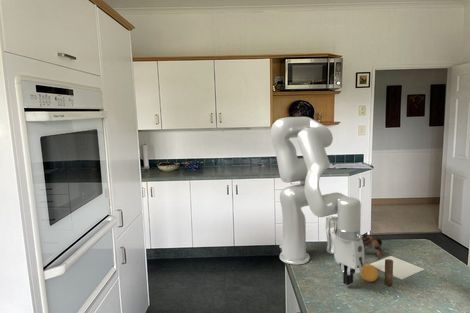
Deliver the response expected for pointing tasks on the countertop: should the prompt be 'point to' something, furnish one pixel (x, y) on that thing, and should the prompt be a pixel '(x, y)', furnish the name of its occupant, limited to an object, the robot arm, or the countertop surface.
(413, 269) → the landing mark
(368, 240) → the reddish brown arched figurine
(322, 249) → the countertop surface
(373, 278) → the ball
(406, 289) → the countertop surface
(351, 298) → the countertop surface
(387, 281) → the post right
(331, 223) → the beer glass
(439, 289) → the countertop surface
